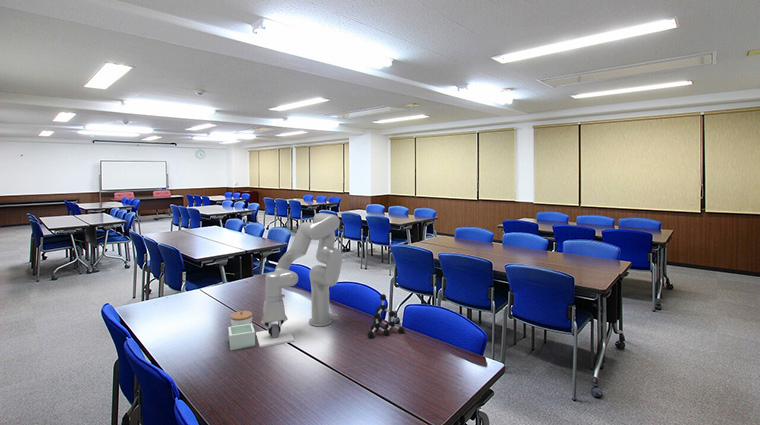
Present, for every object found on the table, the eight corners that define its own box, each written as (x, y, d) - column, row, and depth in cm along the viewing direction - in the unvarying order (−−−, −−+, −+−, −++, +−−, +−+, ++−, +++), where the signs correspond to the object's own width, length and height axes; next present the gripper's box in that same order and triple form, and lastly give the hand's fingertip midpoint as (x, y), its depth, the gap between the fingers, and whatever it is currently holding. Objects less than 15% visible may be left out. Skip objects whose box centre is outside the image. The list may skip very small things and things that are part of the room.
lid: (287, 328, 195) (287, 317, 195) (294, 341, 181) (294, 329, 180) (255, 334, 189) (255, 322, 188) (259, 347, 174) (259, 335, 174)
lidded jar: (245, 334, 189) (245, 316, 188) (226, 332, 191) (226, 314, 190) (256, 325, 200) (256, 308, 199) (238, 323, 202) (238, 307, 201)
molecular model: (375, 323, 205) (376, 287, 203) (405, 332, 193) (406, 295, 191) (353, 333, 191) (354, 295, 189) (384, 344, 179) (384, 304, 177)
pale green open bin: (252, 336, 186) (252, 323, 185) (255, 346, 176) (254, 331, 175) (228, 340, 181) (228, 326, 181) (230, 350, 171) (229, 335, 171)
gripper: (289, 293, 190) (289, 328, 192) (255, 298, 183) (256, 334, 185) (292, 298, 183) (292, 334, 185) (257, 302, 176) (258, 340, 178)
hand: (274, 333), depth 185 cm, fingers closed on lid, 3 cm apart
